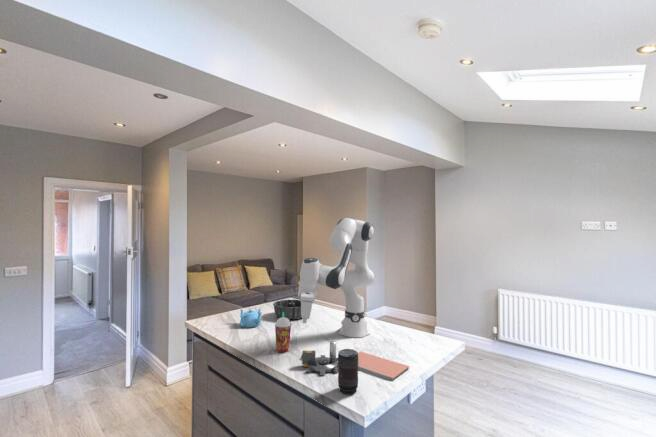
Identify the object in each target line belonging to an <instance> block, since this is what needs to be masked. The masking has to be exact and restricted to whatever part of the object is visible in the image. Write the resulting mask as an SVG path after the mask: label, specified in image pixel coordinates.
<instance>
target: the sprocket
mask: <svg viewBox="0 0 656 437" xmlns="http://www.w3.org/2000/svg"><path fill="white" fill-rule="evenodd" d="M302 367H303V368H306V369H305V370H306V372H307V373H309V374H310V373H313V372H314V373H319V376H326V374H327V373H331V372H332V373H334V374H338V370H339V369H338V357H337V341H335V340H330V341H329V357H326V355H324V354H321V355H320V357H318V356H317V357H315V364H302Z"/></svg>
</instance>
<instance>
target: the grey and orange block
mask: <svg viewBox="0 0 656 437" xmlns="http://www.w3.org/2000/svg"><path fill="white" fill-rule="evenodd" d="M316 353H317V352H316V350H302V353H301V355H302V359H301V364H302V365H303V364H315V358H316Z"/></svg>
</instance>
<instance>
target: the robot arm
mask: <svg viewBox="0 0 656 437" xmlns="http://www.w3.org/2000/svg"><path fill="white" fill-rule="evenodd" d="M374 233H375V228H374V225H373V224H372V223H370V222H368V221H363V220H361V219H353V218H350V217H345V218H341V219H339V221H337V223H336V226H335V228H334V229H333V231H332V233H331V234H330V236H329V243H330V246H331V247H332V248H333V249H334V251H336V252H337V253H340V255H339V258H338V261H337V264H336V265H335V266H330V265H325V264H323V263H320V262H319V261H320V259H318V258H315V257H307V258H304V259H303V261H301V262H302V263H301V266H300V273H299V278H300V279H299V283H298V290H297V291H298V292H297V297H299V300H301V318H300V319H302V324H307V322H308V319H310V316H311V312H312V307H313V303H314V302H315V300H316V299H317V296H318V285H320V286H324V287H327V288H330V289H334V290H337V289H340V290H341V291H342V293H343V294H344V297H345V298H344V300H345V310H344V318H343V320H341V328H340V330H339V331H338V334H339V335H342V336H345V337H348V338H355V339H356V338H363V337H366V336H369V335H371V333H370V331H369V330H368V321H367V319H366V317H365V315H366V314H365V298H364V297H363V295H361V294H359V293H358V292H357V289H358V288H366V287H370V286H372V285H373V284H374V282H375V274H374V272H373V271H372V270H371V269H370V267H369V265H368V250H369V240H371V239H372V238H373V236H374ZM349 264H353V265H354V269H348V266H349Z"/></svg>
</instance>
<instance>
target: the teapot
mask: <svg viewBox="0 0 656 437" xmlns="http://www.w3.org/2000/svg"><path fill="white" fill-rule="evenodd" d="M262 309H263V307H260V308H258V310H257V311H255V310H254V309H248V310H247V311H244V310H243V308H242V307H241V308H240V307H239V310H240V321H239V326H241V327H242V328H247V329H250V328H251V329H252V328H257V327H258V326H259V325H261V320H262V317H261V315H262V311H261V310H262Z"/></svg>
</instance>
